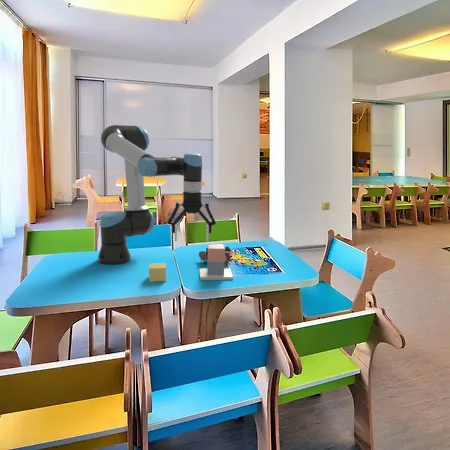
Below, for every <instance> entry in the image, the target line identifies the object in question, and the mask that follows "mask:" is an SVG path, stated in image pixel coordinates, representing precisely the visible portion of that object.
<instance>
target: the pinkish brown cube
mask: <svg viewBox="0 0 450 450" xmlns="http://www.w3.org/2000/svg"><path fill="white" fill-rule="evenodd" d="M225 247H226V246H225V244H224V243H223V244H222V243H221V244H218V243H217V244H215V243H214V244H207V248H208V262H225Z"/></svg>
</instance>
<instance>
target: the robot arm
mask: <svg viewBox="0 0 450 450" xmlns="http://www.w3.org/2000/svg"><path fill="white" fill-rule="evenodd" d="M100 142H101V145H102V146H103V147H104V149H106V150H107V151H108V152H110V153H112V154H113V153H115V154H117V155H118V156H120V157H122V158H123V159H124V173H125V183H126V198H127V207H126V208H125V209H124V210H123V211H121V210H118V211H115V210H114V211H110V212H106V213H104V214H102V216H101V217H100V238H101V239H100V241H101V246H100V249H99V253H98V257H97V258H98V259H97V261H98V263H101V264H103V265H119V264H120V265H121V264H125V263H128V262H129V261H131V253H130V251H129V247H128V246H127V245H128V244H127V238H131V237H136V236H144V235H147V234H149V233H151V232H152V230H153V229H154V226H155V216H154V214H153V212H152V211H150V210H149V209H150V208H149V207H148V206H147V205H146V193H145V181H144V179H145V178H144V177H149V178H150V177H162V176H164V177H165V176H181V177H182V176H183V188H182V189H183V192H182V193H183V194H182V197H183V201H182V202H179V201H176V202H175V207H174V210H172V212H171V215H170V216H169V219H168V221H167V224H168V225H170V226H171V232H172V234H174V242H177V240H178V239H177V238H178V235H177V234H178V232H177V231H178V226H177V223H179V221H180V220H181V219H182V218H183V217H184V216H185V215H186V213H187V214H197V213H198V214H199V216H201V218H202V219H203V220H204V221H205V223H207V224H206V229H205V230H206V232H205V233H206V236H205V240H206V242H209V240H210V238H209V235H210V234H212V226H214V225H217V222H216V220H215V218H214V216H213V214H212V212H211V210H210V207H209V206H210V205H209V202H204V203H202V192H201V191H202V181H203V180H202V179H203V178H202V176H203V157H202V155H201V154H199V153H184V155H183V157H180V156H179V157H178V156H168V157H156V156H154V155H152V154H150V153H148V152H147V151H146V150H147V149H148V148H149V145H150V138H149V134H148V132H147V130H145V128H144V127H142V126H138V125H122V124H118V125H117V124H112V125H109V126H107V127H105V129H104V130H103V131H102V132H101V136H100ZM181 207H183V210H182V211H181V212H180V214H178V216H176V215H177V212H178V210H179V209H180V208H181ZM201 208H204V209H206V212H207V214H208V216H209V218H210V220H211V221H210V220H209V218H208V217H207V216H206V215H205V214H204V213H203V211H202V210H201ZM175 216H176V218H175ZM173 219H174V220H173Z"/></svg>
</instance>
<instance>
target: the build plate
mask: <svg viewBox="0 0 450 450" xmlns="http://www.w3.org/2000/svg"><path fill="white" fill-rule="evenodd" d="M198 271H199V280H201V281H203V280H204V281H209V280H210V281H214V280H215V281H216V280H217V281H221V280H222V281H223V280H224V281H225V280H228V281H229V280H232V281H233V280H234V279H233V278H234V276H233V273H232V270H231V268H230V267H228V268H225V267H224V275H208V271H207V267H206V268H205V267H203V268H198Z"/></svg>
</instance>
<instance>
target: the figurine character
mask: <svg viewBox="0 0 450 450" xmlns="http://www.w3.org/2000/svg"><path fill="white" fill-rule="evenodd" d="M224 247H225V262H224V264H225V263H228V262H230V261H231V254H230V252H231V251H232V250H231V249H230V247H229V246H224ZM198 257H199V259H200V260H201V262H202V261H203V264H204V265H207V257H208V247H207V248H205V250H201V251H199V252H198Z"/></svg>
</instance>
